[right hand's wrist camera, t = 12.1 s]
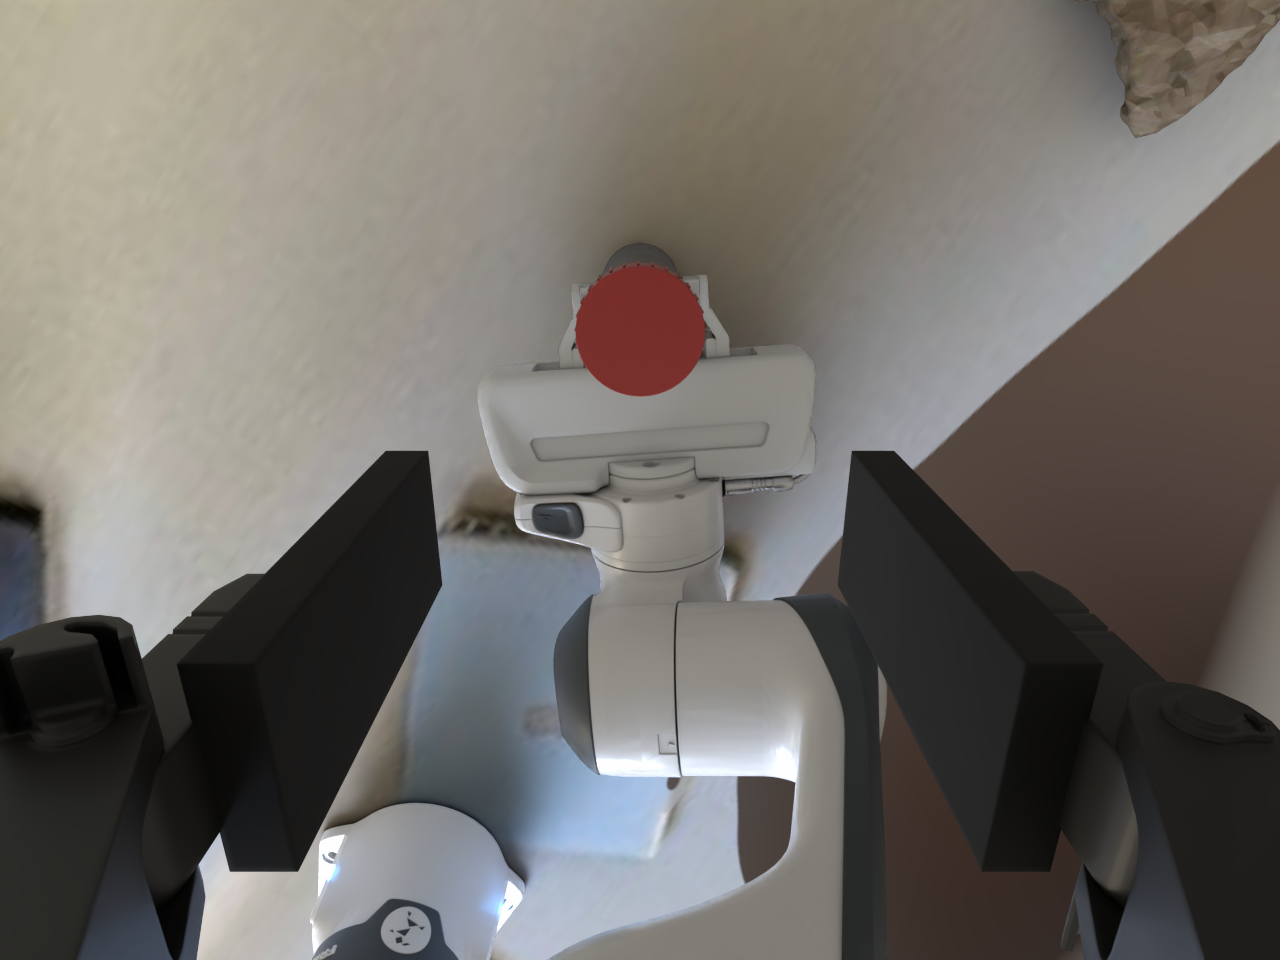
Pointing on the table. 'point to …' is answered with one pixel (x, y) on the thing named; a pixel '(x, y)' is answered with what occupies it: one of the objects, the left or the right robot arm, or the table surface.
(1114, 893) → the right robot arm
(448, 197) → the table surface
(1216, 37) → the stone
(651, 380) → the lid
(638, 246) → the dark grey bottle
